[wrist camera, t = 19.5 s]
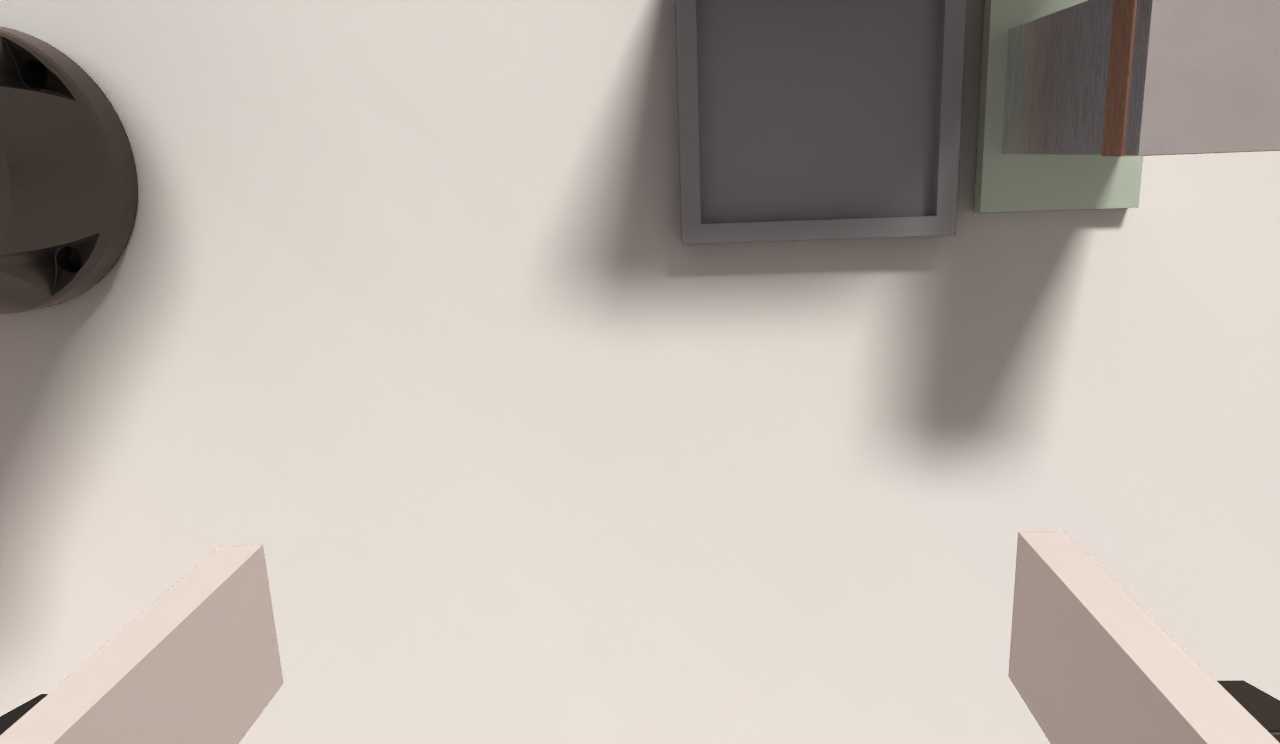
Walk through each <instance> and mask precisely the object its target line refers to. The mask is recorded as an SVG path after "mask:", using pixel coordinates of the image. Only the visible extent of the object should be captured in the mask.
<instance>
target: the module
mask: <svg viewBox="0 0 1280 744" xmlns="http://www.w3.org/2000/svg"><path fill="white" fill-rule="evenodd" d="M1255 151H1280V0H1087V1H1085V2H1082V3H1079V4H1076V5H1074V6H1071V7H1068V8H1066V9H1063V10H1060V11H1057V12H1055V13H1052V14H1049V15H1047V16H1044V17H1041V18H1038V19H1036V20H1033V21H1030V22H1028V23H1025V24H1022V25H1019V26H1017V27H1014V28H1011V29H1009V39H1008V56H1007V74H1006V92H1005V110H1004V127H1003V145H1002V154H1054V155H1101V156H1115V157H1123V156H1149V155H1176V154H1202V153H1229V152H1255Z"/></svg>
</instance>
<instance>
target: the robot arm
mask: <svg viewBox="0 0 1280 744" xmlns="http://www.w3.org/2000/svg"><path fill="white" fill-rule="evenodd" d="M136 207H137V175H136V168H135V162H134V157H133V153H132V150H131V146H130V143H129V140H128V137H127V134H126V132H125V130H124V127H123V125H122V123H121V121H120V119H119V117H118V115H117V113H116V111H115V110H114V108H113V106H112V104H111V103H110V101H109V100H108V99H107V97H106V96H105V94H104V93H103V92H102V90H101V89H100V88H99V86H98V85H97V84H96V83H95V82H94V81H93V79H92V78H91V77H90V76H89V75H88V74H87V73H86V72H85V71H84V70H83V69H82V68H81V67H80V66H78V65H77V64H76V63H75V62H74V61H73V60H71V59H70V58H69V57H67V56H66V55H65V54H63V53H62V52H60V51H59V50H57V49H56V48H54V47H53V46H51V45H49V44H47V43H46V42H44V41H42V40H40V39H38V38H35V37H33V36H31V35H28V34H26V33H23V32H20V31H17V30H13V29H9V28H5V27H0V314H9V313H19V312H25V311H30V310H34V309H38V308H42V307H46V306H51V305H55V304H58V303H61V302H65V301H67V300H70V299H72V298H74V297H76V296H78V295H80V294H82V293H84V292H85V291H87V290H88V289H90V288H91V287H92V286H94V285H95V284H96V283H98V282H99V281H100V280H101V279H102V278H103V277H104V276H105V275H106V274H107V273H108V272H109V271H110V270H111V268H112V267H113V266H114V264H115V263H116V262H117V260H118V258H119V257H120V255H121V254H122V252H123V250H124V248H125V246H126V244H127V241H128V239H129V236H130V233H131V230H132V227H133V223H134V219H135V213H136ZM1009 678H1010V679H1011V681H1012V683H1013V684H1014V686H1015V687H1016V689H1017V691H1018V692H1019V694H1020V695H1021V697H1022V699H1023V700H1024V702H1025V703H1026V705H1027V706H1028V708H1029V710H1030V711H1031V713H1032V714H1033V716H1034V718H1035V719H1036V721H1037V722H1038V724H1039V726H1040V727H1041V729H1042V730H1043V732H1044V734H1045V735H1046V737H1047V738H1048V740H1049V741H1050V743H1051V744H1280V701H1279V700H1277V699H1276V698H1274V697H1272V696H1270V695H1268V694H1267V693H1265V692H1263V691H1261V690H1259V689H1258V688H1256V687H1254V686H1252V685H1250V684H1249V683H1247V682H1245V681H1216V680H1215V679H1214V678H1213V677H1212V676H1211V675H1210V674H1209V673H1208V672H1207V671H1206V670H1205V669H1204V668H1203V667H1202V666H1201V665H1200V664H1199V663H1198V662H1197V661H1196V660H1195V659H1194V658H1193V657H1192V656H1191V655H1190V654H1189V653H1188V652H1187V651H1186V650H1185V649H1184V648H1183V647H1182V646H1181V645H1180V644H1179V643H1178V642H1177V641H1176V640H1175V639H1174V638H1173V637H1172V636H1171V635H1169V634H1168V633H1167V632H1166V631H1165V630H1164V629H1163V628H1162V627H1161V626H1160V625H1159V624H1158V623H1157V622H1156V621H1155V620H1154V619H1153V618H1152V617H1151V616H1150V615H1149V614H1148V613H1147V612H1146V611H1145V610H1144V609H1143V608H1142V607H1141V606H1140V605H1139V604H1138V603H1137V602H1136V601H1135V600H1134V599H1133V598H1132V597H1131V596H1130V595H1129V594H1128V593H1127V592H1126V591H1125V590H1124V589H1123V588H1122V587H1121V586H1120V585H1119V584H1118V583H1117V582H1116V581H1115V580H1114V579H1113V578H1112V577H1111V576H1110V575H1109V574H1108V573H1107V572H1106V571H1104V570H1103V569H1102V568H1101V567H1100V566H1099V565H1098V564H1097V563H1096V562H1095V561H1094V560H1093V559H1092V558H1091V557H1090V556H1089V555H1088V554H1087V553H1086V552H1085V551H1084V550H1083V549H1082V548H1081V547H1080V546H1079V545H1078V544H1077V543H1076V542H1075V541H1074V540H1073V539H1072V538H1071V537H1070V536H1069V535H1068V534H1067V533H1066V532H1065V531H1031V532H1018V543H1017V557H1016V572H1015V587H1014V602H1013V616H1012V631H1011V646H1010V661H1009ZM282 684H283V677H282V670H281V663H280V657H279V650H278V643H277V636H276V630H275V623H274V616H273V610H272V603H271V596H270V589H269V583H268V576H267V569H266V562H265V556H264V549H263V545H223V546H220V547H218V548H217V549H216V550H215V551H214V552H213V553H211V554H210V555H209V556H208V557H207V558H206V559H205V560H203V561H202V562H201V563H200V564H199V565H198V566H196V567H195V568H194V569H193V570H192V571H191V572H189V573H188V574H187V575H186V576H185V577H184V578H182V579H181V580H180V581H179V582H178V583H177V584H176V585H174V586H173V587H172V588H171V589H170V590H169V591H167V592H166V593H165V594H164V595H163V596H162V597H160V598H159V599H158V600H157V601H156V602H155V603H153V604H152V605H151V606H150V607H149V608H148V609H147V610H145V611H144V612H143V613H142V614H141V615H140V616H138V617H137V618H136V619H135V620H134V621H133V622H131V623H130V624H129V625H128V626H127V627H126V628H124V629H123V630H122V631H121V632H120V633H119V634H118V635H116V636H115V637H114V638H113V639H112V640H111V641H109V642H108V643H107V644H106V645H105V646H104V647H102V648H101V649H100V650H99V651H98V652H97V653H95V654H94V655H93V656H92V657H91V658H90V659H89V660H87V661H86V662H85V663H84V664H83V665H82V666H80V667H79V668H78V669H77V670H76V671H75V672H73V673H72V674H71V675H70V676H69V677H68V678H66V679H65V680H64V681H63V682H62V683H61V684H60V685H58V686H57V687H56V688H55V689H54V690H53V691H51V692H50V693H49V694H41V695H39V696H37V697H35V698H34V699H32V700H30V701H28V702H26V703H24V704H23V705H21V706H19V707H17V708H15V709H14V710H12V711H10V712H8V713H6V714H4V715H3V716H1V717H0V744H239V742H240V741H241V740H242V738H243V737H244V736H245V734H246V733H247V731H248V730H249V729H250V727H251V726H252V725H253V723H254V722H255V721H256V719H257V718H258V717H259V715H260V714H261V713H262V711H263V710H264V709H265V707H266V706H267V705H268V703H269V702H270V700H271V699H272V698H273V696H274V695H275V694H276V692H277V691H278V690H279V688H280V687H281V686H282Z"/></svg>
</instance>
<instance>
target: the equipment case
mask: <svg viewBox="0 0 1280 744" xmlns="http://www.w3.org/2000/svg"><path fill="white" fill-rule="evenodd" d="M675 3H676V41H677V79H678V117H679V155H680V194H681V232H682V244H705V243H735V242H765V241H795V240H825V239H855V238H884V237H914V236H944V235H956V218H957V196H958V174H959V152H960V130H961V109H962V87H963V65H964V43H965V21H966V0H675Z"/></svg>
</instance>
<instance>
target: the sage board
mask: <svg viewBox="0 0 1280 744" xmlns="http://www.w3.org/2000/svg"><path fill="white" fill-rule="evenodd" d="M1085 1H1087V0H985V3H984V23H983V43H982V63H981V83H980V103H979V122H978V142H977V162H976V182H975V202H974V212H978V213H994V212H1023V211H1052V210H1081V209H1110V208H1138V205H1139V194H1140V184H1141V173H1142V162H1143V156H1123V157H1115V156H1101V155H1054V154H1002V145H1003V127H1004V110H1005V92H1006V74H1007V56H1008V39H1009V29H1011V28H1014V27H1017V26H1019V25H1022V24H1025V23H1028V22H1030V21H1033V20H1036V19H1038V18H1041V17H1044V16H1047V15H1049V14H1052V13H1055V12H1057V11H1060V10H1063V9H1066V8H1068V7H1071V6H1074V5H1076V4H1079V3H1082V2H1085Z"/></svg>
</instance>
